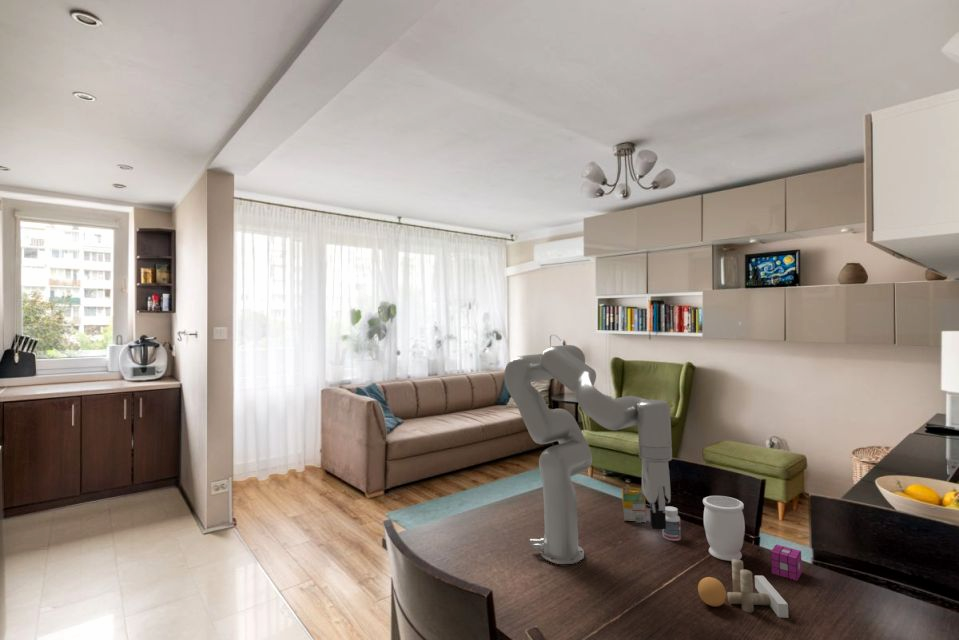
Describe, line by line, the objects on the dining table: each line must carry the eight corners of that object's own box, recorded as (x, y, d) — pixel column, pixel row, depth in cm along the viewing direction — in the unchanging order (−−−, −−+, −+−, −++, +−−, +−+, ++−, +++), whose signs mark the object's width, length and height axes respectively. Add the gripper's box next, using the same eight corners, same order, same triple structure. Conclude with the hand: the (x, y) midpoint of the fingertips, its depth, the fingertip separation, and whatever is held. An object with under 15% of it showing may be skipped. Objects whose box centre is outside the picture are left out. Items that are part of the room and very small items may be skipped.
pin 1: (735, 599, 111) (733, 563, 112) (731, 593, 114) (730, 558, 114) (746, 599, 111) (744, 563, 111) (742, 594, 113) (740, 559, 114)
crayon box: (645, 519, 158) (644, 485, 159) (646, 523, 156) (645, 488, 156) (623, 518, 160) (621, 484, 160) (623, 521, 157) (622, 487, 157)
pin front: (731, 596, 109) (770, 598, 108) (727, 589, 111) (765, 591, 110) (731, 606, 109) (770, 607, 108) (727, 599, 112) (765, 600, 111)
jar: (730, 567, 126) (727, 511, 126) (696, 551, 135) (694, 499, 135) (754, 557, 131) (752, 503, 131) (720, 542, 140) (718, 492, 140)
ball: (733, 610, 106) (705, 614, 108) (725, 591, 112) (699, 595, 114) (725, 587, 106) (697, 591, 107) (717, 569, 112) (692, 573, 113)
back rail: (778, 617, 104) (778, 603, 104) (755, 587, 116) (754, 575, 116) (788, 617, 104) (787, 604, 104) (763, 587, 116) (763, 575, 116)
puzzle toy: (802, 572, 122) (801, 550, 123) (797, 581, 118) (796, 558, 118) (776, 565, 126) (776, 544, 127) (771, 573, 122) (770, 551, 123)
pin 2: (744, 612, 106) (742, 574, 107) (739, 605, 109) (738, 569, 109) (755, 612, 106) (753, 575, 106) (751, 606, 108) (749, 569, 109)
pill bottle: (682, 541, 142) (681, 512, 142) (664, 540, 143) (663, 511, 143) (678, 534, 147) (677, 505, 147) (661, 533, 148) (660, 505, 148)
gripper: (633, 443, 121) (636, 515, 121) (645, 460, 106) (648, 541, 106) (663, 444, 120) (666, 515, 120) (680, 460, 105) (683, 542, 105)
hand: (658, 527), depth 113 cm, fingers closed
